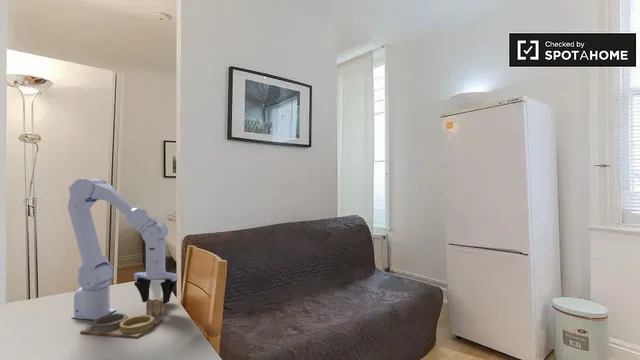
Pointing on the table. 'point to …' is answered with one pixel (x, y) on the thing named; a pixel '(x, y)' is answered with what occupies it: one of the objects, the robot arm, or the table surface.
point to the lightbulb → (156, 288)
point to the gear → (155, 306)
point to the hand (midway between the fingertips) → (155, 301)
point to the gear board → (116, 331)
